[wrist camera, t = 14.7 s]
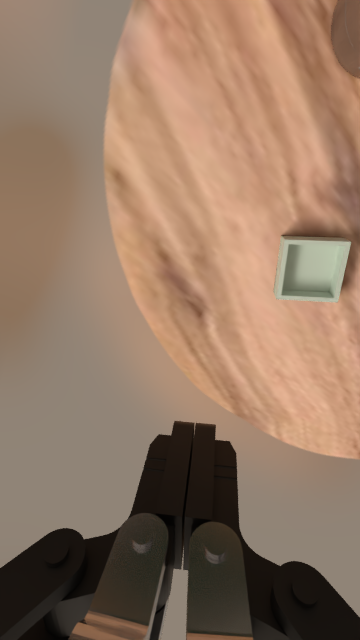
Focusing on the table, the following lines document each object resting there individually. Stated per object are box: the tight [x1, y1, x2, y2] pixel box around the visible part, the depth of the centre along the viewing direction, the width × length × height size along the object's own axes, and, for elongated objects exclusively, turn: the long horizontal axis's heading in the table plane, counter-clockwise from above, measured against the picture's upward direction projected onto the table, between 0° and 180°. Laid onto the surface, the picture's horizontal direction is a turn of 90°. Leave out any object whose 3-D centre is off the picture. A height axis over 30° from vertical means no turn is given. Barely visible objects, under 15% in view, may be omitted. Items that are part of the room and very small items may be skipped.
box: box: [274, 236, 351, 302], centre depth 38 cm, size 7×7×2 cm
